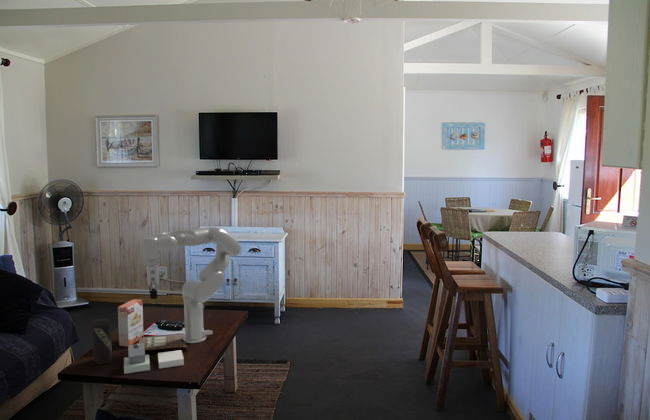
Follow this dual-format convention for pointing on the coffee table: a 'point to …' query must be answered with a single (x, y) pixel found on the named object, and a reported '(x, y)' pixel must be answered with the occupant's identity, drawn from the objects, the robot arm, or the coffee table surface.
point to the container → (101, 341)
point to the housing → (136, 353)
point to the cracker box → (130, 322)
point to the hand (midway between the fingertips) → (153, 295)
